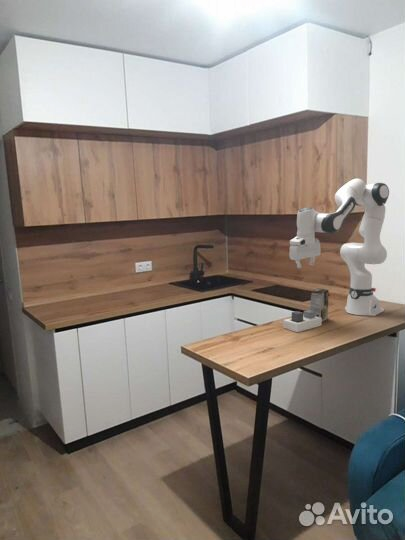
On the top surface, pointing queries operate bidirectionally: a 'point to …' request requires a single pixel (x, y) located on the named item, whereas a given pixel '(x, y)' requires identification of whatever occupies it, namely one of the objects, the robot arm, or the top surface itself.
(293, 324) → the white slotted base
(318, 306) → the coffee box
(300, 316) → the black plug
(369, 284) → the robot arm
